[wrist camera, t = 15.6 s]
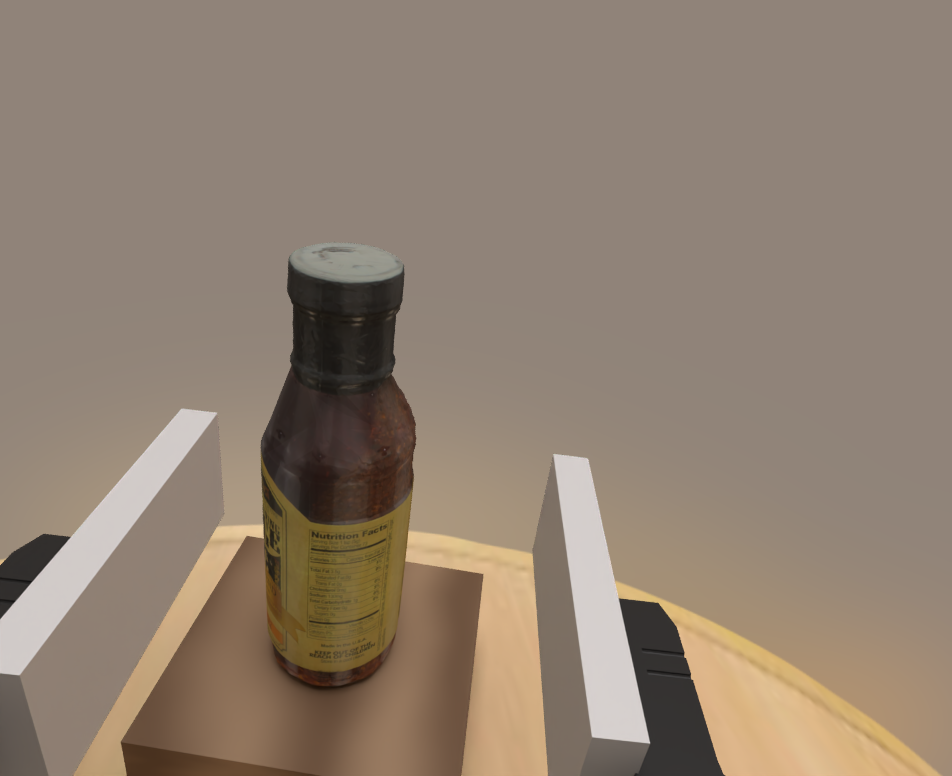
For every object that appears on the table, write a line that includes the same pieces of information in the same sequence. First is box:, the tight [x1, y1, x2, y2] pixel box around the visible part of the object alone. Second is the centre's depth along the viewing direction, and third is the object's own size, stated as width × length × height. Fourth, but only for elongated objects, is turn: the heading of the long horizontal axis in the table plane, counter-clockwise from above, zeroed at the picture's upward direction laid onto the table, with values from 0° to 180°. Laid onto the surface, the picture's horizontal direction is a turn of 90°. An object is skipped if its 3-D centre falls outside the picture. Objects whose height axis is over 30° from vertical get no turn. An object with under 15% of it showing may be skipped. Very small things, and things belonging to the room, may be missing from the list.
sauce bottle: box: [261, 242, 416, 687], centre depth 28 cm, size 7×6×20 cm
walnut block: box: [121, 536, 483, 776], centre depth 34 cm, size 14×13×6 cm
